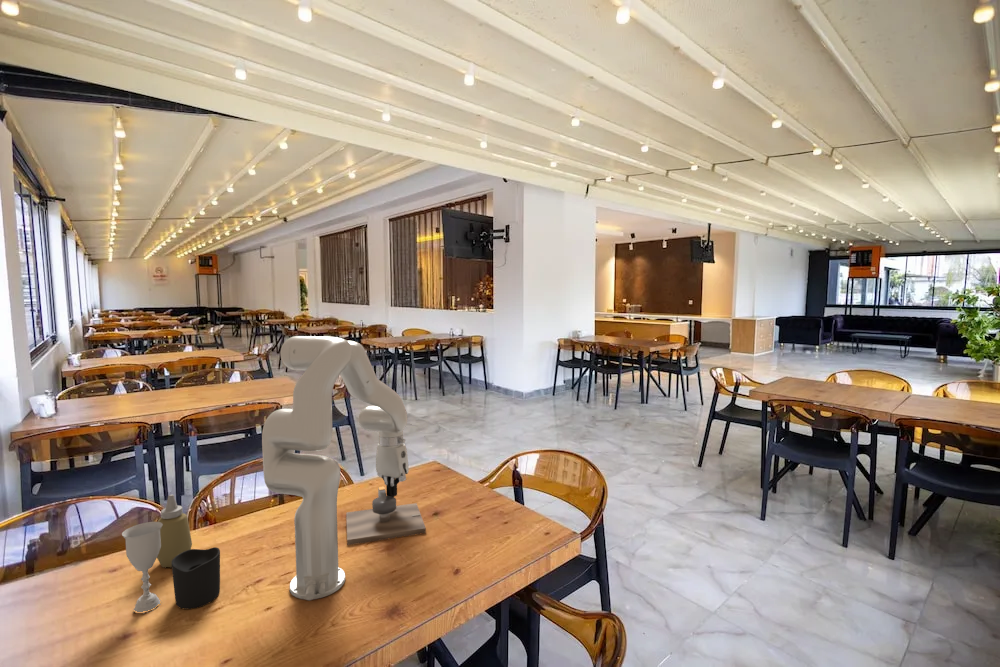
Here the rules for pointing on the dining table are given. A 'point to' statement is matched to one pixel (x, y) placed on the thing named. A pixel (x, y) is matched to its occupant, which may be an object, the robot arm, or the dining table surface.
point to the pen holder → (196, 577)
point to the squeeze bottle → (173, 532)
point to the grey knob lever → (383, 502)
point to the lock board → (383, 524)
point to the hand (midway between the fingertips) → (391, 496)
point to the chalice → (144, 557)
